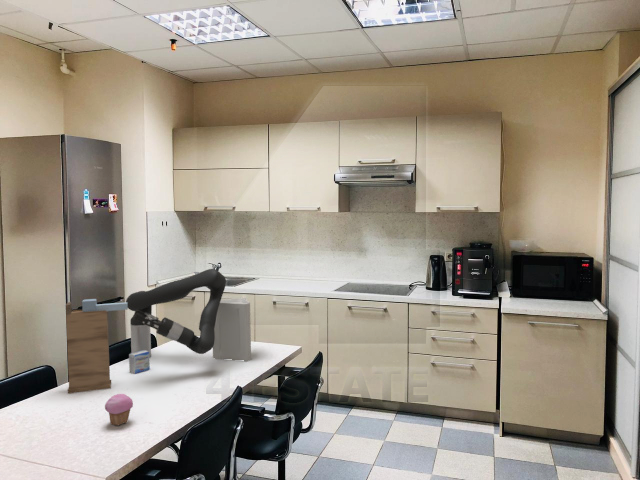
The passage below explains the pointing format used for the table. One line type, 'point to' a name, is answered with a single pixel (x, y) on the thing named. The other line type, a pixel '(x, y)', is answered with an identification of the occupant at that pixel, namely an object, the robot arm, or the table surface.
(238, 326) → the grey box
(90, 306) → the bar
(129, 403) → the cupcake
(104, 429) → the table surface
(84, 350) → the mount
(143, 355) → the medicine box
